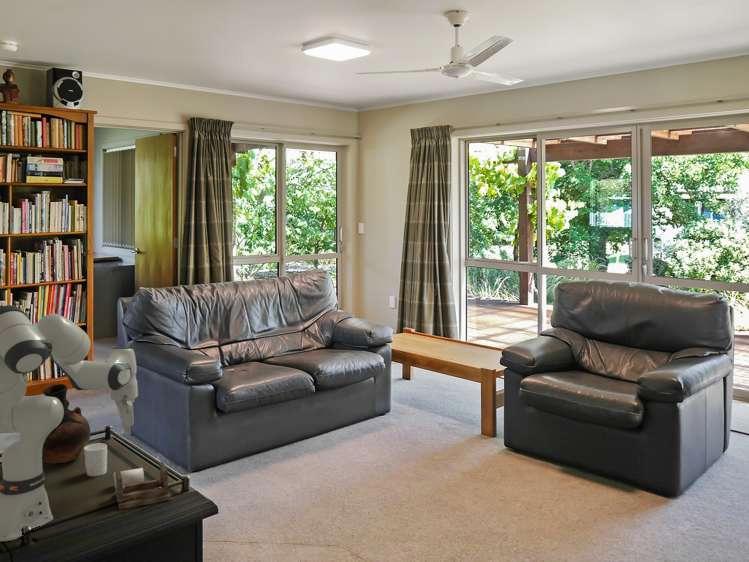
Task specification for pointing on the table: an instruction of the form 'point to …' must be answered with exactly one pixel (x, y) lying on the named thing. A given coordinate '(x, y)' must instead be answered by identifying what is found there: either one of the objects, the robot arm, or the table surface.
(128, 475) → the paper roll
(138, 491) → the roll holder
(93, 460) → the white cup
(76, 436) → the ceramic vessel
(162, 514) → the table surface
